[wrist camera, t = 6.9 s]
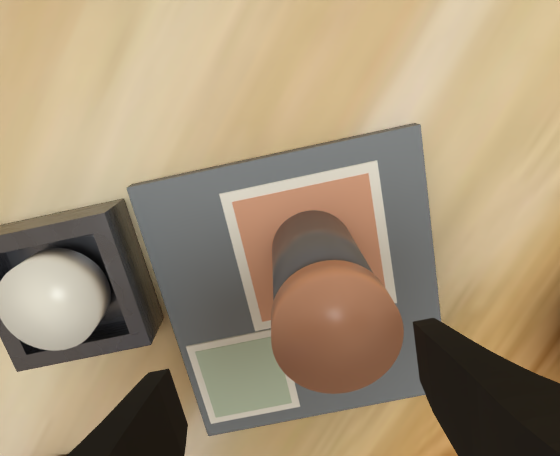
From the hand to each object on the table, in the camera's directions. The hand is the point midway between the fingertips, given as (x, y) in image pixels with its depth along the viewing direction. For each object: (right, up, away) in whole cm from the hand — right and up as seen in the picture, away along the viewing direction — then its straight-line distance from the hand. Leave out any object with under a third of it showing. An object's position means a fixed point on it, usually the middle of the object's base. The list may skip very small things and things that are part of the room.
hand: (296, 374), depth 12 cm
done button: (-11, +1, +8) cm, 13 cm away
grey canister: (+1, +3, +9) cm, 9 cm away
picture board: (+1, +1, +10) cm, 11 cm away
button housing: (-11, +2, +10) cm, 15 cm away
